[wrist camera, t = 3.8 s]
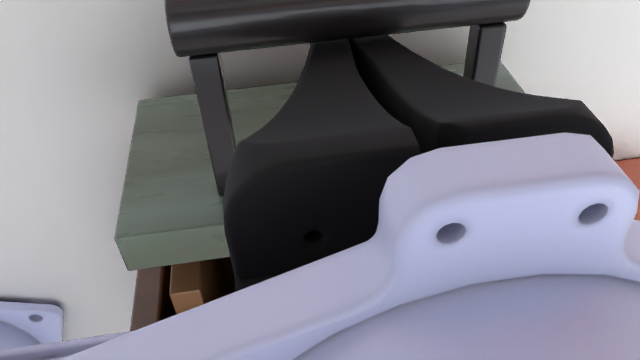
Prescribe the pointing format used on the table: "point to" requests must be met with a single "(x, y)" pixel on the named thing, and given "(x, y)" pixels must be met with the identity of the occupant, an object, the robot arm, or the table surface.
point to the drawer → (253, 117)
